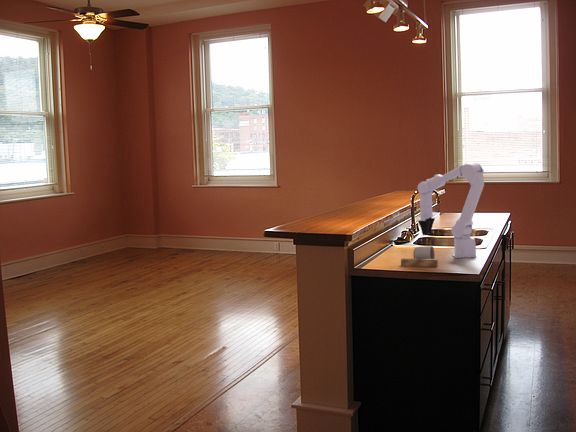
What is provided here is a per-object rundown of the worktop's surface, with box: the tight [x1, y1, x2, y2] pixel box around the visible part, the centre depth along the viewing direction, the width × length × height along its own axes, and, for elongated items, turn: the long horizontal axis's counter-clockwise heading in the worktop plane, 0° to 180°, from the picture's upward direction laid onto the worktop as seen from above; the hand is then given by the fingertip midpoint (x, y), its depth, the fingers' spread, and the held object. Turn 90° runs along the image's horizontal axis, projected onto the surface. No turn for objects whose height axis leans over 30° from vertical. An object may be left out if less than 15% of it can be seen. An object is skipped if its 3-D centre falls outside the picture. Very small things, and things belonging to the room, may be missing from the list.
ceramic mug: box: [412, 245, 436, 259], centre depth 293 cm, size 11×8×8 cm
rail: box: [400, 257, 439, 268], centre depth 287 cm, size 16×2×3 cm, turn 64°
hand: (426, 234), depth 317 cm, fingers open, 7 cm apart
